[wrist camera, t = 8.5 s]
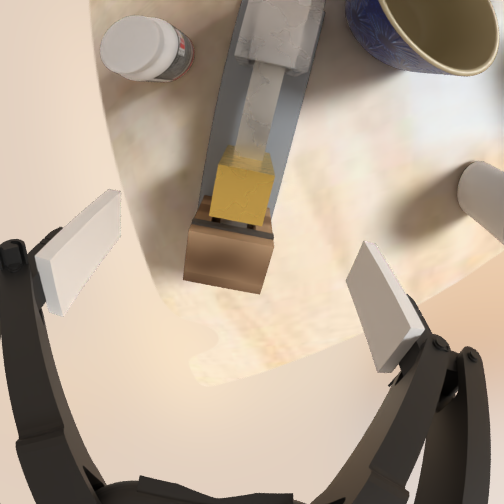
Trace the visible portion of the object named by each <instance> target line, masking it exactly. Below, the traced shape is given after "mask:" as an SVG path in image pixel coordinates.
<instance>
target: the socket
mask: <svg viewBox="0 0 504 504" xmlns="http://www.w3.org/2000/svg"><path fill="white" fill-rule="evenodd" d="M211 201H212V196H208V195H204V197H203V200H202V202H201V204H200V206H199V208H198V211H197V213H196V215H195V217H194V218H193V220H192V224H191V226H190V229H189V232H188V240H187V248H186V257H185V266H184V275H183V280H186V281H191V282H196V283H201V284H206V285H211V286H217V287H222V288H227V289H233V290H238V291H244V292H249V293H255V294H260V293H261V289H262V286H263V283H264V279H265V276H266V273H267V269H268V266H269V262H270V259H271V256H272V252H273V249H274V242H273V239H274V235H273V233H272V225H271V216H270V208H268V207H267V209H266V213H265V217H264V221H263V225H262V226H257V225H252V224H247V228H243V227H238V226H233V225H227V224H222V223H220V220H221V218H217V217H212V216H209V213H210V207H211Z"/></svg>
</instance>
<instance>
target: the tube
mask: <svg viewBox="0 0 504 504" xmlns="http://www.w3.org/2000/svg"><path fill="white" fill-rule="evenodd" d="M284 72H285V67H281V66H277V65H272V64H268V63H263V62H259V61H255V63H254V67H253V71H252V75H251V79H250V83H249V88H248V92H247V96H246V100H245V105H244V109H243V114H242V118H241V123H240V127H239V132H238V136H237V141H236V146H233V145H228V146H227V148H226V150H225V152H224V154H223V156H222V158H221V160H220V162H219V164H218V168H217V174H216V179H215V184H214V190H213V196H212V201H211V207H210V213H209V216H212V217H217V218H221V220H220V223H222V224H227V225H233V226H238V227H243V228H247V224H252V225H257V226H262V225H263V221H264V217H265V213H266V209H267V206H268V202H269V198H270V194H271V190H272V186H273V182H274V179H275V173H274V169H273V165H272V160H271V156H270V153H266V152H265V149H266V145H267V141H268V137H269V133H270V129H271V125H272V120H273V116H274V112H275V108H276V104H277V100H278V96H279V92H280V88H281V84H282V80H283V76H284Z"/></svg>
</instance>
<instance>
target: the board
mask: <svg viewBox="0 0 504 504" xmlns="http://www.w3.org/2000/svg"><path fill="white" fill-rule="evenodd" d="M248 1H249V0H242V2H241V6H240V9H239V13H238V16H237V20H236V24H235V28H234V31H233V35H232V39H231V43H230V47H229V51H228V55H227V60H226V64H225V68H224V72H223V77H222V81H221V86H220V90H219V95H218V99H217V104H216V109H215V114H214V119H213V124H212V129H211V134H210V139H209V145H208V150H207V156H206V161H205V167H204V173H203V179H202V185H201V191H200V197H199V204H198V208H199V206H200V204H201V202H202V200H203V197H204V195H208V196H213V190H214V184H215V179H216V174H217V168H218V164H219V162H220V160H221V158H222V156H223V154H224V152H225V150H226V148H227V146H228V145H233V146H236V141H237V136H238V132H239V127H240V123H241V118H242V114H243V109H244V105H245V100H246V96H247V92H248V88H249V83H250V79H251V75H252V71H253V67H248V66H243V65H239V64H238V62H237V60H236V58H235V56H234V54H235V50H236V46H237V42H238V38H239V34H240V30H241V27H242V23H243V19H244V15H245V12H246V8H247V5H248ZM324 16H325V12H324V11H323V13H322V17H321V21H320V25H319V29H318V33H317V37H316V41H315V45H314V49H313V53H312V57H311V61H310V65H309V69H308V72H306V73H304V74H301V75H299V76H296V77H293V76H289V75H285V74H284V76H283V80H282V84H281V88H280V92H279V96H278V100H277V104H276V108H275V112H274V116H273V120H272V125H271V129H270V133H269V137H268V141H267V145H266V149H265V152H266V153H270V156H271V160H272V165H273V169H274V173H275V179H274V182H273V186H272V190H271V194H270V198H269V202H268V206H267V207H268V208H270V216H271V218H272V215H273V211H274V207H275V204H276V200H277V196H278V193H279V189H280V185H281V181H282V178H283V174H284V170H285V167H286V163H287V159H288V155H289V151H290V148H291V144H292V140H293V136H294V133H295V129H296V125H297V121H298V117H299V114H300V110H301V106H302V102H303V98H304V94H305V90H306V87H307V83H308V79H309V75H310V71H311V67H312V63H313V59H314V55H315V51H316V47H317V44H318V40H319V36H320V32H321V28H322V24H323V20H324ZM197 211H198V210H197Z"/></svg>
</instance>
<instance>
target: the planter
mask: <svg viewBox="0 0 504 504" xmlns="http://www.w3.org/2000/svg"><path fill="white" fill-rule="evenodd" d="M345 13H346V18H347V22H348V25H349V27H350V29H351V31H352V33H353V35H354V36H355V38H356V39H357V41H358V42H359V43H360V44H361V46H362V47H363V48H364V49H365V50H366V51H367V52H368V53H370V54H371V55H372V56H374V57H375V58H376V59H378V60H380V61H381V62H383V63H385V64H387V65H389V66H392V67H395V68H398V69H401V70H406V71H412V72H421V73H432V74H444V75H456V76H474V75H477V74H480V73H482V72H483V71H485V70H486V69H487V68H488V67H489V66H490V65H491V64H492V63H493V61H494V59H495V57H496V54H497V51H498V47H499V27H498V22H497V17H496V14H495V11H494V9H493V6H492V4H491V2H490V0H346V1H345Z"/></svg>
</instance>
